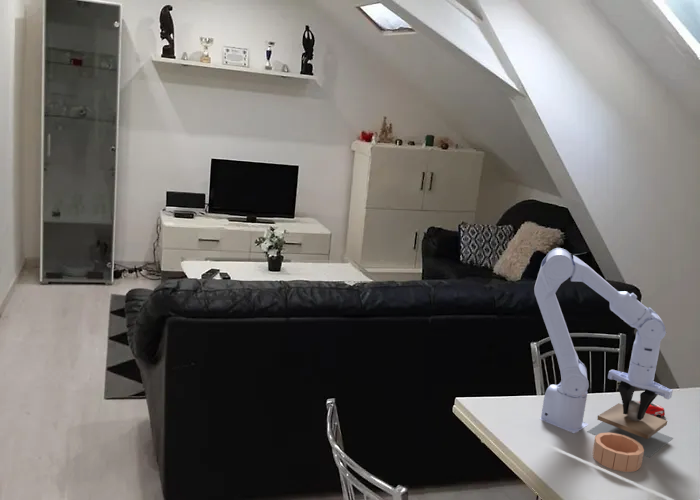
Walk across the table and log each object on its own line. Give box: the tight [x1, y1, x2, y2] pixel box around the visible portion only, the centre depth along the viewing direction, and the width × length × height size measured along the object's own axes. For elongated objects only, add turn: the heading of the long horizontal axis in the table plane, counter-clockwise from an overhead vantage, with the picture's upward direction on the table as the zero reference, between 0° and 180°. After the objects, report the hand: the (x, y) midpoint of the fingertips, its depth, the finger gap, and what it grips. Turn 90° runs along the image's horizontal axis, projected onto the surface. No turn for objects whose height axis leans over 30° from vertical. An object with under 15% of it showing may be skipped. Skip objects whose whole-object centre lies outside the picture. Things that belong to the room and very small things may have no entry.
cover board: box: [597, 399, 668, 439], centre depth 161 cm, size 12×12×5 cm
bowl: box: [591, 432, 644, 473], centre depth 150 cm, size 10×10×4 cm
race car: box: [638, 400, 666, 419], centre depth 174 cm, size 13×5×4 cm, turn 107°
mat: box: [586, 421, 674, 458], centre depth 163 cm, size 15×15×1 cm
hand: (633, 415), depth 161 cm, fingers closed on cover board, 3 cm apart
